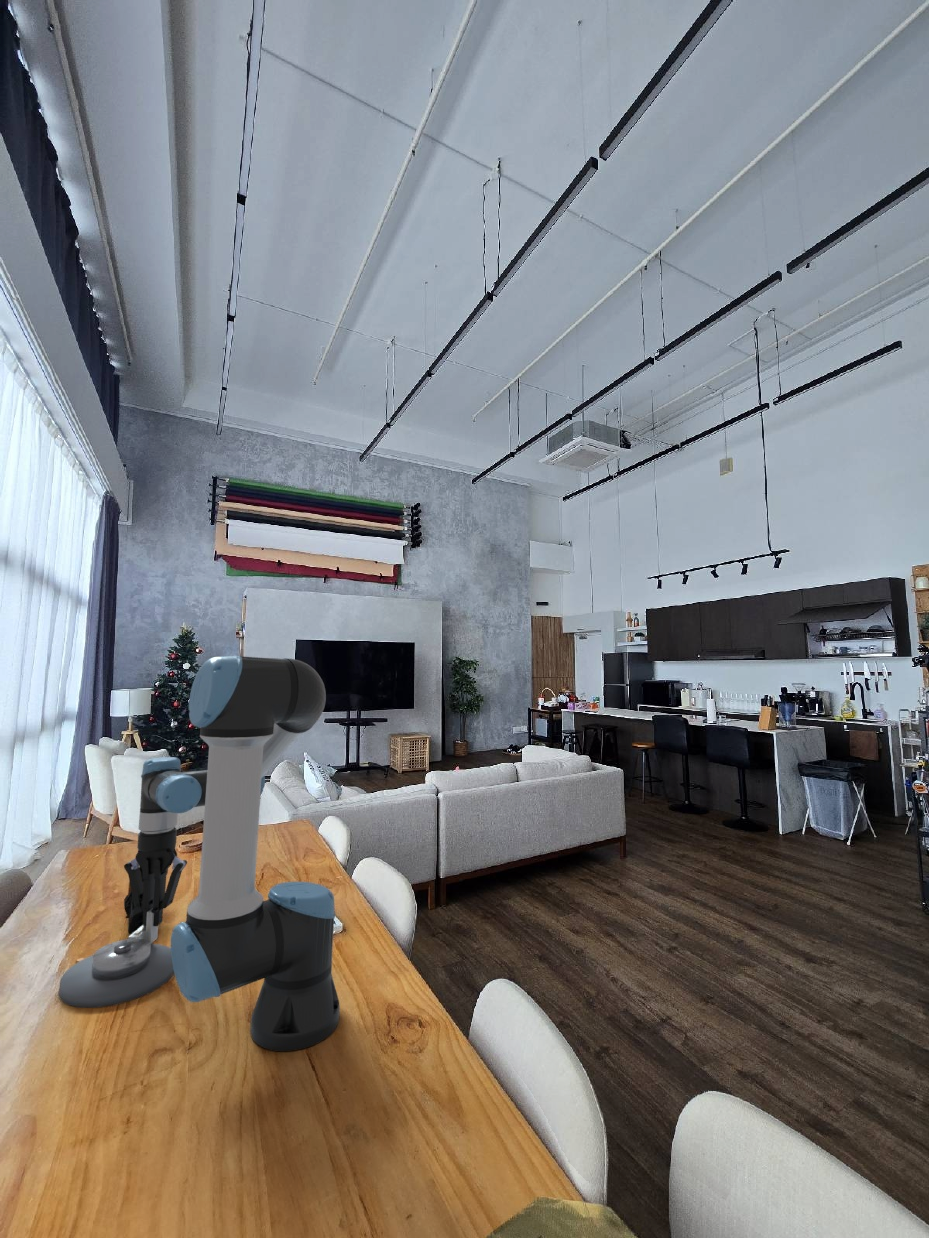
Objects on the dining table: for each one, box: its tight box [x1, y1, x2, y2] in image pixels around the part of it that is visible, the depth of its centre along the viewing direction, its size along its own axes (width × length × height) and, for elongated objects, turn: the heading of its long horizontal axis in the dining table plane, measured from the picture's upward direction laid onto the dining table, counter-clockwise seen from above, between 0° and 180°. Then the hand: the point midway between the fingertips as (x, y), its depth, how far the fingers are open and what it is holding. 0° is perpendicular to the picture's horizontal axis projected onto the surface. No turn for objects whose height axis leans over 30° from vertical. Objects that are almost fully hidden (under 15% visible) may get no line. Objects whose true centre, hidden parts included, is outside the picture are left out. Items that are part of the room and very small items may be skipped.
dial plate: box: [58, 943, 175, 1009], centre depth 112 cm, size 22×22×2 cm
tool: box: [123, 866, 144, 935], centre depth 136 cm, size 8×23×15 cm, turn 31°
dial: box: [91, 925, 152, 980], centre depth 113 cm, size 16×10×4 cm, turn 2°
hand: (151, 940), depth 119 cm, fingers closed
